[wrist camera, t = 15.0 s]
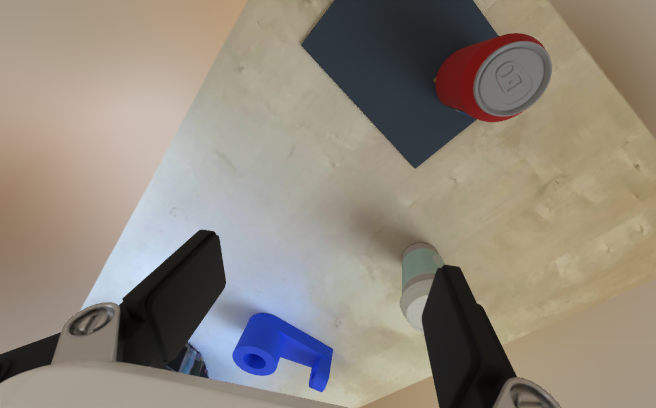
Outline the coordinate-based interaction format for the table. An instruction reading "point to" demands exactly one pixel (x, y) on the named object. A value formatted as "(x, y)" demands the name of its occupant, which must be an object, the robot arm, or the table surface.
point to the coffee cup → (417, 280)
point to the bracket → (281, 349)
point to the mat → (398, 64)
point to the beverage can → (495, 77)
